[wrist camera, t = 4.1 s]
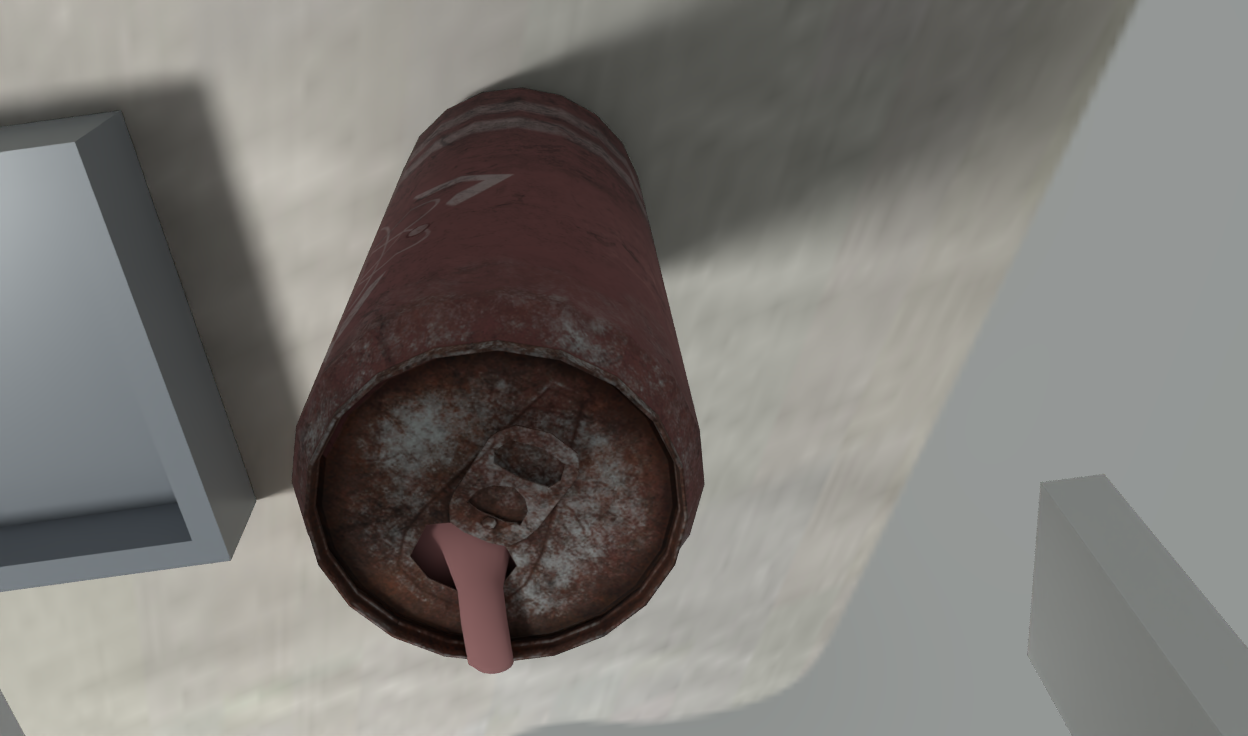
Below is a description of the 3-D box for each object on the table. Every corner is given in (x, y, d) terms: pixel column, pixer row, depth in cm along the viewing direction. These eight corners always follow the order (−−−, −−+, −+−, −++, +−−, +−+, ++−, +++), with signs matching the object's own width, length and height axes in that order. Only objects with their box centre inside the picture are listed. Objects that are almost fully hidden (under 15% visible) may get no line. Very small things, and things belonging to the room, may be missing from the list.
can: (427, 329, 29) (334, 718, 16) (381, 97, 26) (225, 355, 13) (648, 305, 29) (722, 674, 16) (628, 71, 26) (699, 304, 13)
